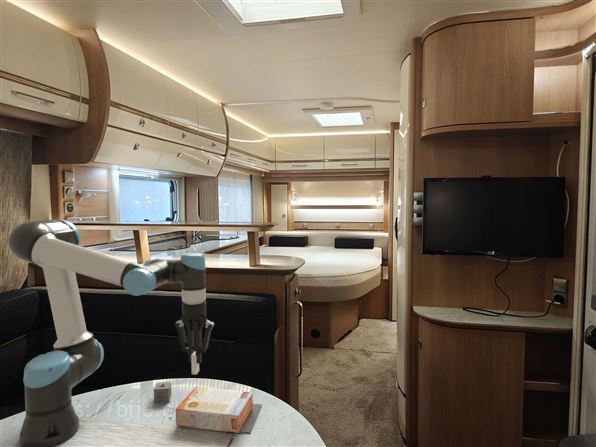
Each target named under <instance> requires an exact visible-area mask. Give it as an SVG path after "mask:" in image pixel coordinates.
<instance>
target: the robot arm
mask: <svg viewBox="0 0 596 447" xmlns="http://www.w3.org/2000/svg"><path fill="white" fill-rule="evenodd" d="M7 240H8V241H7V242H8V248H9V251H10V252H11V253H12V254H13V255H14V256H15V257H17V258H18V259H20V260H22V261H25V262H27V263H28V262H29V263H31V264H33V265H37V266H39V268H40V267H41V268H42V270H43V274H44V279H45V284H46V290H47V294H48V299H49V303H50V308H51V312H52V318H53V323H54V329H55V332H56V337H57V339H56V341H55V342H54V343H53V350H52V351H49V352H46V353H45V354H44V353H43V354H39V355H37V356H36V357H34V358H32V359H31V360H30V361H29V362H27V363H26V365H25V367H24V370H23V379H22V381H23V387H24V388H23V389H24V403H25V404H24V405H25V406H24V407H25V416H24V420H23V423H22V425H21V430H20V433H19V437H18V438H19V445H20V446H21V447H54V446H57V445H59V444H62V443H64V442H66V441H67V440H69V439H71V438H72V437H73V436H74V435H75V434H76V433H78V431H79V428H80V419H79V416H78V415H77V414H76V411H75V408H74V406H73V403H72V401H73V400H72V389H73V388H74V387H75V386H76V385H78V384H80V383H81V382H82V381H83V380H85V379H86V378H88V377H89V376H91V375H93V374H94V373H95V371H96V370H98V369H99V367H101V364H102V363H103V361H104V357H105V356H104V355H105V353H104V352H105V351H104V347H103V344H101V342H98V340H97V339H95V338H94V333H92V332H89V331H88V330H87V326H86V321H85V316H84V312H83V310H84V309H83V304H82V300H81V296H80V289H79V286H78V281H77V274H79V275H83V276H87V277H90V278H93V279H96V280H100V281H103V282H106V283H108V284H109V283H111V284H113V285H115V286H120V287H122V288H124V291H126V292H127V293H128V294H129V295H131V296H137V297H139V296H142V295H146V294H147V293H150V292H152V291H154V290H155V289H156V288H159V287H161V286H163V285H164V284H180V285H181V301H182V303H181V312H182V316H181V318H180V320H177V321H176V322H174V327H175V329H176V330H177V333H178V337H179V342H180V345H181V349H182V352H184V353H187V354H188V363H189V364H191V375H197V374H198V373H200V363H202V361H203V356H202V354H204V353H206V351H207V350H208V347H209V342H210V338H211V333H212V330H213V328H214V326H215V322H214V321H210V320H209V318H208V316H207V301H206V299H207V291H206V290H207V289H206V288H207V285H206V281H207V280H206V279H207V278H206V276H207V274H206V272H207V271H206V268H207V266H206V259H205V258H206V257H205V255H204V254H203V253H201V252H187V253H186V252H185V253H183V254H182V255H181V256H180V259H159V258H155V259H148V260H146V261H145V262H144V263H143V264H140V263H137V262H134V261H131V260H128V259H124V258H122V257H121V258H120V257H117V256H115V255H110V254H107V253H104V252H101V251H98V250H94V249H91V248H87V247H84V246H81V245H80V244H81V241H82V238H81V232H80V231H79V229H78V227H77V226H76V225H75V224H74V223H72V222H71V221H68V220H67V219H66V220H65V219H56V218H55V219H47V220H45V219H44V220H35V221H32V220H31V221H26V222H22V223H20V224H18V225H17V226H15V227H14V228H13V229H12V230H11V232H10V233H9V234H8V239H7ZM76 273H77V274H76ZM204 326H205V332H204V336H203V328H204ZM185 328H186V330H185Z"/></svg>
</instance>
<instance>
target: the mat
mask: <svg viewBox="0 0 596 447" xmlns="http://www.w3.org/2000/svg"><path fill="white" fill-rule="evenodd" d="M262 404H263V403H261V404H260V403H253V408H252V410H251V412H250V414H249V415H248V417H247V419H246V421H245V422H244V424H243V426H242V428H241V429H240V431H239V434H251V433H252V431H253V427H254V426H255V423H256V420H257V418H258V415H259V413H260V410H261V409H262ZM180 429H184V430H185V429H186V430H199V431H201V430H202V431H214V432H219V431H218V430H210V429H202V428H194V427H185V426H180ZM223 432H225V433H227V432H226V431H222V433H223Z"/></svg>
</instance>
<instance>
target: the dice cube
mask: <svg viewBox="0 0 596 447" xmlns="http://www.w3.org/2000/svg"><path fill="white" fill-rule="evenodd" d="M171 397H172V382H171V381H164V382H156V383H155V386H154V388H153V403H154V404H159V403H160V404H161V403H163V404H164V403H169V402H170V400H171Z"/></svg>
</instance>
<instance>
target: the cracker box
mask: <svg viewBox="0 0 596 447" xmlns="http://www.w3.org/2000/svg"><path fill="white" fill-rule="evenodd" d="M253 400H254V399H253V392H250V391H249V392H248V391H240V390H239V391H237V390H230V389H229V390H228V389H220V388H209V387H200V386H199V387H198V386H195V387H194V389H192V391H191V392H190V393H189V394H187V396H185V398H184V399H183V400H182V401H181V402H180V403H179V404H178V406H177V407H175V425H176V426H178V427H181V426H185V427H194V428H202V429H210V430H218V431H217V432H223V431H226V432H225V433H237V434H238V433H239V431H240V429H241V428H242V426H243V424H244V422H245V421H246V419H247V417H248V415H249V414H250V412H251V410H252V408H253V404H254V402H253ZM210 430H209V431H210ZM239 434H240V433H239Z"/></svg>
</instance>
